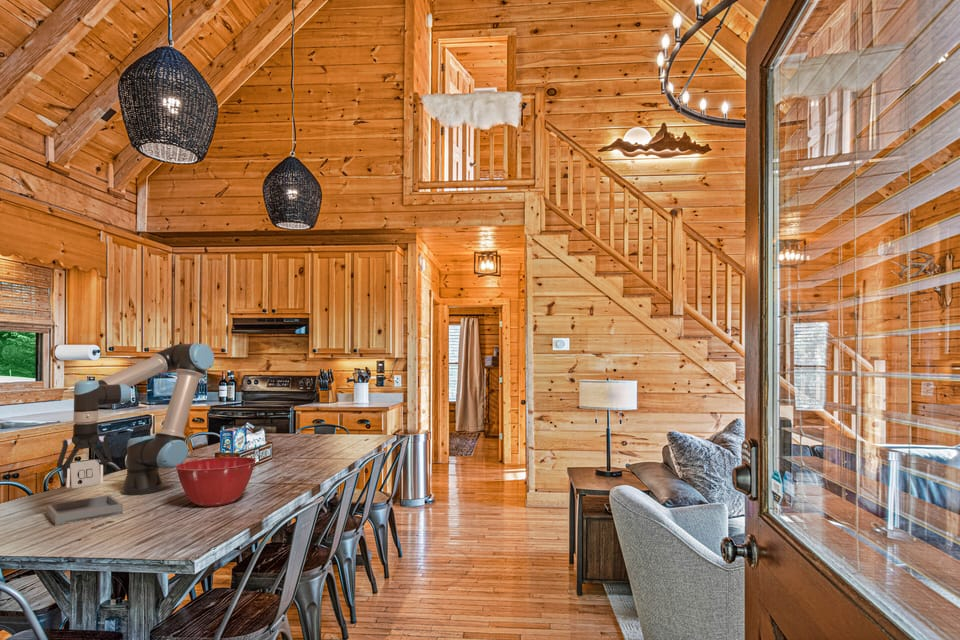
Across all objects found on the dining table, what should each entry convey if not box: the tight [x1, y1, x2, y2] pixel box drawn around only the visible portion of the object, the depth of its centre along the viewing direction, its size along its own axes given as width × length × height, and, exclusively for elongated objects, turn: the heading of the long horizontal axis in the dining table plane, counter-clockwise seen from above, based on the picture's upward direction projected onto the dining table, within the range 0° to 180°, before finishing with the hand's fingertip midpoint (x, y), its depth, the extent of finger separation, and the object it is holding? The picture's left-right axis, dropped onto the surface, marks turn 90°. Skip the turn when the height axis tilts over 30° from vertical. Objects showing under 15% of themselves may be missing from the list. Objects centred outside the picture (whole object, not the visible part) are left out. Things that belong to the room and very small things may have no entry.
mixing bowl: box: [175, 456, 257, 508], centre depth 228 cm, size 28×28×15 cm
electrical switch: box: [68, 459, 102, 490], centre depth 215 cm, size 9×5×9 cm, turn 141°
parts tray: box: [46, 494, 124, 526], centre depth 214 cm, size 20×20×4 cm
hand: (84, 484), depth 214 cm, fingers closed on electrical switch, 9 cm apart
